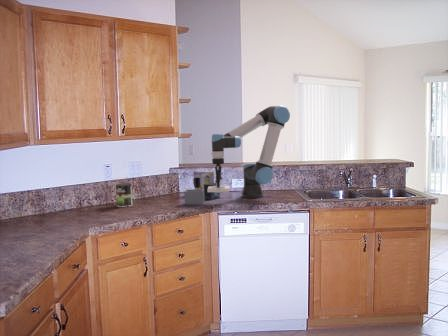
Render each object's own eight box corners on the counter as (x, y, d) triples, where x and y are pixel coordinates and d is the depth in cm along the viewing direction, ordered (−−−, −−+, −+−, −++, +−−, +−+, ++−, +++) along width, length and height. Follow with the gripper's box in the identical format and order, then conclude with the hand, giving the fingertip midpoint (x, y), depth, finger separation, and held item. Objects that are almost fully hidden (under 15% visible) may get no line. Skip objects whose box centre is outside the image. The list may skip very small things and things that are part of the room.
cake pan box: (193, 193, 358) (192, 170, 356) (198, 193, 361) (197, 169, 359) (210, 196, 344) (209, 171, 342) (215, 195, 347) (214, 171, 345)
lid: (229, 189, 319) (229, 184, 319) (229, 191, 307) (229, 187, 307) (208, 189, 320) (208, 185, 319) (207, 192, 308) (207, 187, 307)
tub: (204, 202, 319) (204, 189, 318) (203, 204, 311) (203, 191, 310) (186, 203, 319) (185, 189, 318) (185, 205, 311) (184, 191, 310)
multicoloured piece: (127, 207, 309) (126, 185, 308) (113, 206, 313) (112, 185, 311) (135, 204, 319) (134, 183, 317) (122, 204, 322) (121, 183, 321)
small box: (211, 200, 328) (210, 184, 327) (203, 199, 332) (203, 184, 331) (220, 197, 336) (220, 183, 335) (213, 197, 340) (212, 182, 339)
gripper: (213, 156, 323) (214, 188, 325) (210, 159, 299) (211, 194, 301) (224, 156, 323) (225, 188, 325) (223, 159, 299) (223, 193, 301)
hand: (218, 191), depth 313 cm, fingers closed on lid, 12 cm apart
